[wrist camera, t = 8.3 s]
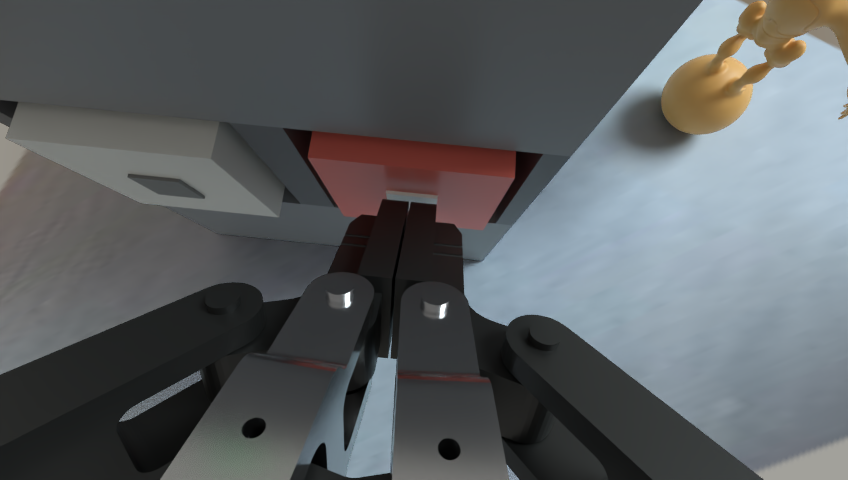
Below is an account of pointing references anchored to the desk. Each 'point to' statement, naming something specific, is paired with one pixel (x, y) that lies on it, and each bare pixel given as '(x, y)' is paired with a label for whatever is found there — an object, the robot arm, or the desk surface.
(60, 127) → the grey button
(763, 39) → the figurine
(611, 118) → the desk surface
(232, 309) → the robot arm
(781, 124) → the desk surface
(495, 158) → the red button
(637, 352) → the desk surface
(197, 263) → the desk surface
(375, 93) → the grey drawer cabinet
